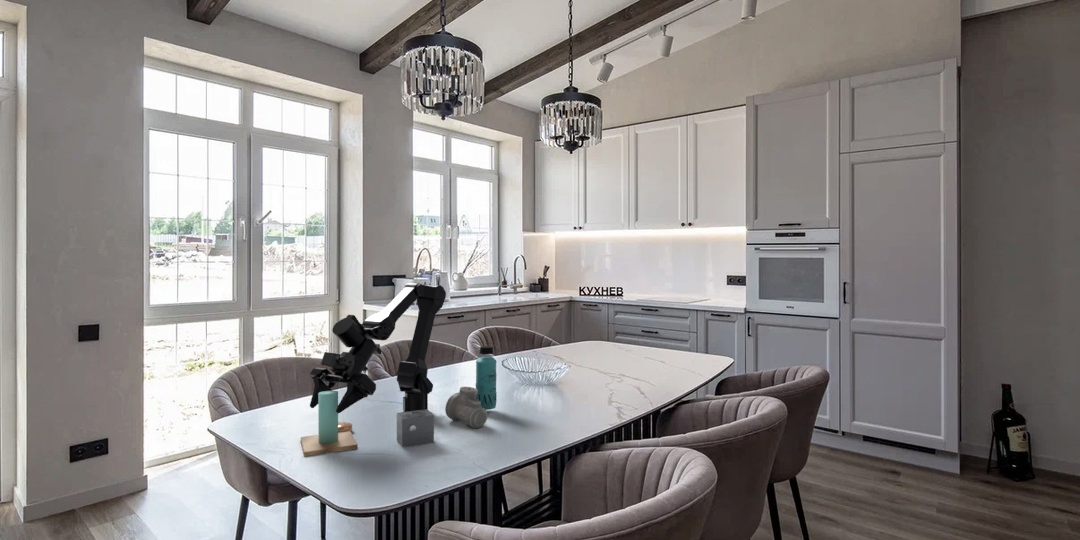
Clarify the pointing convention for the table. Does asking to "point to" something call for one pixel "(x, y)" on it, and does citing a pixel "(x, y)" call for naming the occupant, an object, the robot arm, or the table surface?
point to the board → (314, 447)
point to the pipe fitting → (466, 408)
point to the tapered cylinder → (328, 416)
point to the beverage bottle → (486, 379)
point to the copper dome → (344, 426)
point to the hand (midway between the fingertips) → (323, 409)
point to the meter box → (415, 428)
